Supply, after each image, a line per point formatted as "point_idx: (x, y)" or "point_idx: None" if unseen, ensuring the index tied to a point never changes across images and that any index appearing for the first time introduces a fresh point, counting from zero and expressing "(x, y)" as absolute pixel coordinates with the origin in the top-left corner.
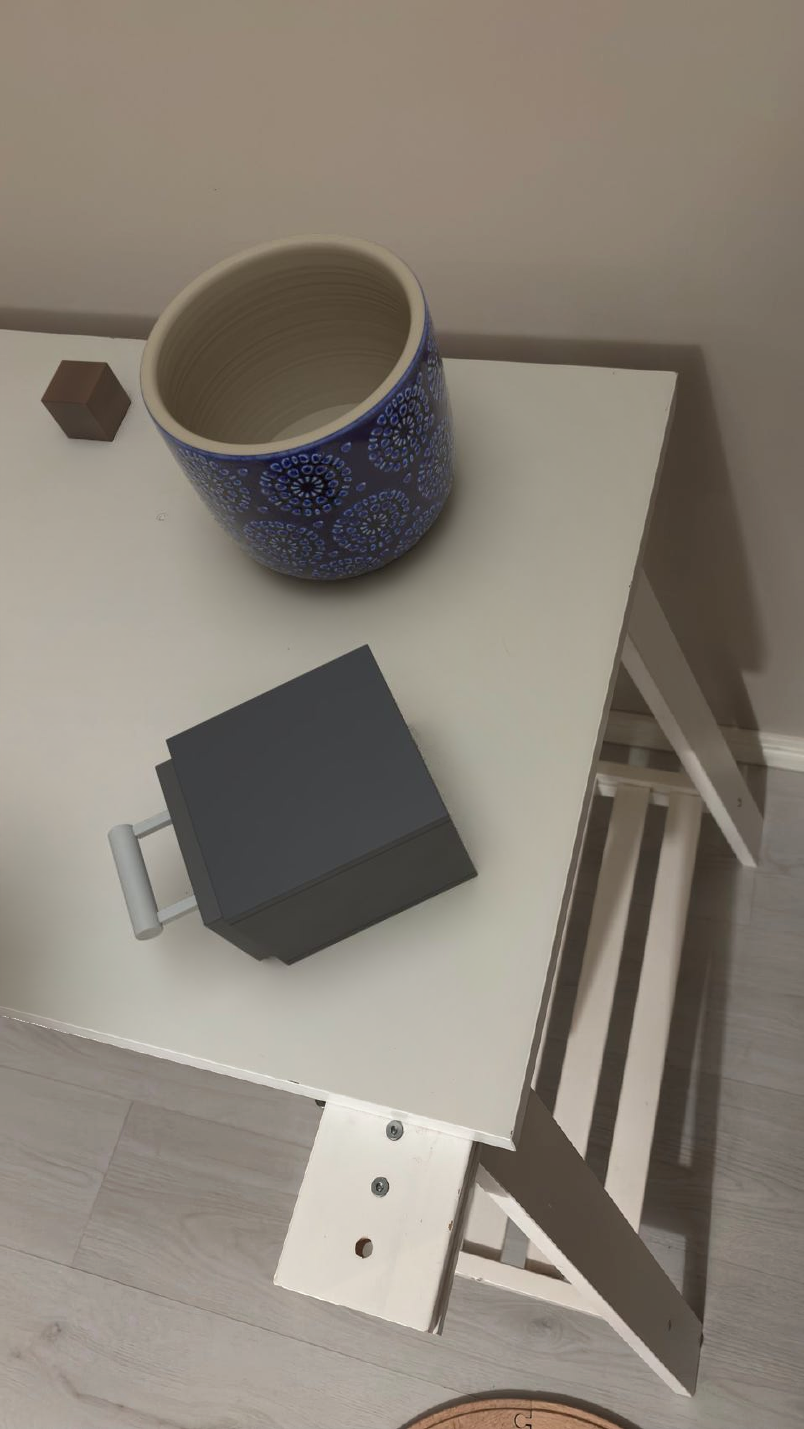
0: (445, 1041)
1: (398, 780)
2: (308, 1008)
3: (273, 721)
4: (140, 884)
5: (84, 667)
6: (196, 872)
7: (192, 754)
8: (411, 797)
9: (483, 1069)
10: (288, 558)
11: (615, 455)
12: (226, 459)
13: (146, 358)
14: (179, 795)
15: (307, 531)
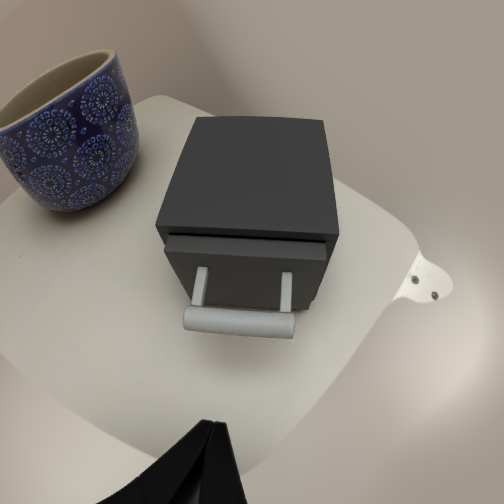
0: (383, 242)
1: (290, 126)
2: (343, 298)
3: (202, 161)
4: (250, 312)
5: (46, 333)
6: (278, 250)
7: (183, 211)
8: (304, 126)
9: (398, 233)
10: (99, 170)
11: (167, 105)
12: (61, 100)
13: None
14: (202, 241)
15: (106, 137)
